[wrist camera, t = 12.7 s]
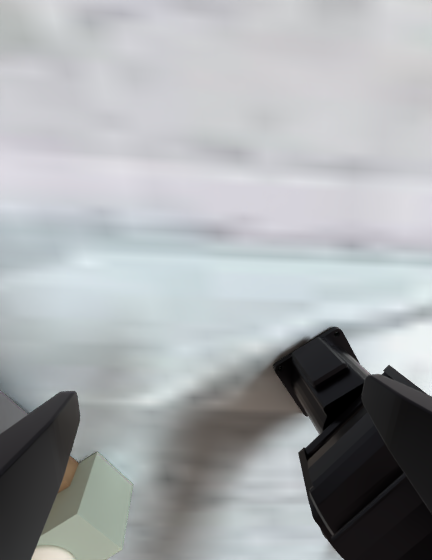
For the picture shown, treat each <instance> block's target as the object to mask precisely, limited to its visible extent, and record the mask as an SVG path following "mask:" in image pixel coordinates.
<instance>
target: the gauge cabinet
mask: <svg viewBox="0 0 432 560" xmlns="http://www.w3.org/2000/svg"><path fill="white" fill-rule="evenodd" d="M132 489H133V484H132V483H131V482H130V481H129V480H128V479H127V478H126V477H125V476H123V475H122V474H121V473H120V472H119V471H118V470H117V469H116V468H115V467H114V466H113V465H111V464H110V463H109V462H108V461H107V460H106V459H105V458H104V457H103V456H102V455H101V454H99V453H98V452H96V453H95V454H93V455H91V456H90V457H88V458H87V459H85V460H83V461H82V462H80V463H79V464H78V467H77V469H76V472H75V474H74V477H73V480H72V482H71V485H70V486H69V487H68V488H66V489H64V490H63V491H61V492H59V493H58V494H57V496H56V499H55V501H54V504H53V506H52V509H51V511H50V514H49V516H48V519H47V521H46V524H45V526H44V529H43V531H42V534H41V536H40V539H39V541H38V544H37V546H36V549H35V551H34V554H33V556H32V559H31V560H106V559H108V558H109V557H111V556H113V555H114V554H116V553H118V552H119V551H121V550H123V543H124V537H125V531H126V525H127V519H128V513H129V507H130V501H131V495H132Z"/></svg>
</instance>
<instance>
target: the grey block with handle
mask: <svg viewBox="0 0 432 560" xmlns="http://www.w3.org/2000/svg"><path fill="white" fill-rule="evenodd" d="M26 415H28V414H27V413H26V412H25V411H24V410H23V409H21V408H20V407H19V406H18V405H17V404H16V403H15V402H14V401H12V400H11V399H10V398H9V397H8V396H7V395H6V394H4V393H3V392H2V391H1V390H0V434H1V433H2V432H4V431H5V430H6V429H8V428H9V427H11V426H12V425H14V424H15V423H16V422H18V421H19V420H21V419H22V418H24V417H25V416H26Z"/></svg>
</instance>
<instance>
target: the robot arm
mask: <svg viewBox="0 0 432 560" xmlns="http://www.w3.org/2000/svg"><path fill="white" fill-rule="evenodd" d="M335 332H337V334H336V335H334V334H335ZM279 367H282V368H281V369H278V368H279ZM273 368H274V370H275V372H276V374H277V375H278V377H279V378H280V380H281V381H282V383H283V384H284V386H285V387H286V389H287V390H288V392H289V393H290V394H291V396H292V397H293V399H294V400H295V402H296V403H297V405H298V406H299V408H300V409H301V411H302V412H303V414H304V415H305V416H309V418H310V420H311V421H312V423H313V425H314V426H315V428H316V430H317V431H318V433H319V436H318V437H317V438H316V439H315V440H314V441H312V442H311V443H310V444H309V445H308V446H307V447H306V448H303V449H302V450H301V451H300V452H299V453H298V454H299V458H300V463H301V468H302V472H303V477H304V482H305V486H306V491H307V496H308V500H309V504H310V507H311V511H312V516H313V518H314V520H315V522H316V523H317V524H318V525H319V527H320V529H321V531H322V534H323V535H324V537H325V538H326V539H327V540H328V541H329V542H330V544H331V545H332V546H333V548H334V549H335V550H336V551H337V552H338V553H339V555H340V556H341V557H342V558H343V559H344V560H432V396H429V395H427V394H426V393H425V392H424V391H422V390H421V389H420V388H418V387H417V386H416V385H414V384H413V383H412V382H411V381H409V380H408V379H407V378H405V377H404V376H403V375H401V374H400V373H399V372H398V371H396V370H395V369H394V368H392V367H391V366H390V365H388V366H387V367H386V368H385V369H384V370H383V371H384V373H383V374H382V375H380V374H372V375H371V374H370V373H369V372H368V371H367V370H366V369H365V368H363V367H362V366H361V365H360V363H359V361H358V360H357V358H356V356H355V354H354V352H353V350H352V348H351V347H350V345H349V343H348V341H347V339H346V337H345V335H344V333H343V332H342V330H341V329H339V328H338V327H333V328H331V329H329V330H328V331H326V332H325V333H323V334H321V335H320V336H318V337H316V338H315V339H313V340H311V341H310V342H308V343H307V344H305V345H303V346H302V347H300V348H299V349H297V350H295V351H294V352H292V353H291V354H289V355H287V356H286V357H284V358H283V359H281V360H279V361H278V362H276V363H275V364H274V367H273ZM79 421H80V410H79V403H78V396H77V393H76V392H75V391H63V392H60V393H58V394H56V395H55V396H54V397H52V398H51V399H49V400H48V401H46V402H45V403H44V404H42V405H41V406H39V407H38V408H36V409H35V410H34V411H32V412H31V413H29V414H28V415H26V416H25V417H24V418H22V419H21V420H19V421H18V422H16V423H15V424H14V425H12V426H11V427H9V428H8V429H6V430H5V431H4V432H2V433H1V434H0V560H31V559H32V556H33V554H34V551H35V549H36V546H37V544H38V541H39V539H40V536H41V534H42V531H43V529H44V526H45V524H46V521H47V519H48V516H49V514H50V511H51V509H52V506H53V504H54V501H55V499H56V496H57V494H58V491H59V488H60V486H61V483H62V480H63V477H64V474H65V471H66V467H67V464H68V460H69V457H70V453H71V450H72V447H73V443H74V440H75V436H76V433H77V429H78V426H79Z"/></svg>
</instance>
